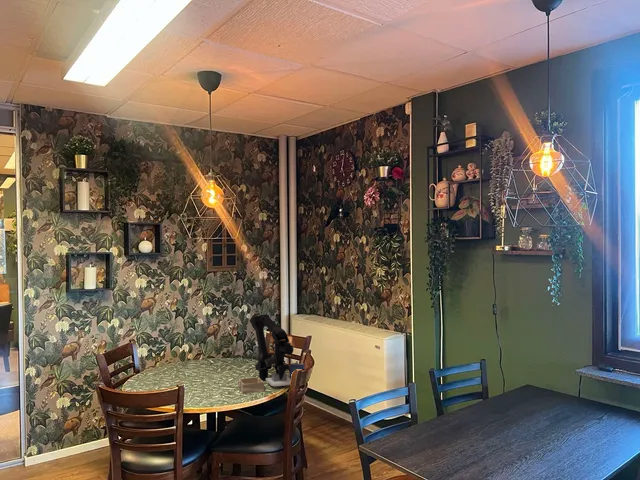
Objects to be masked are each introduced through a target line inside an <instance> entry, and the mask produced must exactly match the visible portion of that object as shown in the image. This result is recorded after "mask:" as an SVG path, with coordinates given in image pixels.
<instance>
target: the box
mask: <svg viewBox="0 0 640 480" xmlns="http://www.w3.org/2000/svg"><path fill="white" fill-rule="evenodd" d="M237 388H238V390H239V391H240V392H241V393H242V394H243V395H246V394H253V393H261V392H265V382H264V381H262V380H261V379H260V378H259V376H255V377H245V378H238V381H237Z"/></svg>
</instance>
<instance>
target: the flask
mask: <svg viewBox="0 0 640 480" xmlns="http://www.w3.org/2000/svg"><path fill="white" fill-rule="evenodd" d="M295 361H296V362H291V363H289V378H290V379H291V374H292V372H293V371H294V370H296V369H304V370H305V363H299V360H295Z"/></svg>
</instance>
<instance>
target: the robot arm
mask: <svg viewBox="0 0 640 480" xmlns="http://www.w3.org/2000/svg"><path fill="white" fill-rule="evenodd" d="M249 321H250V323H251V324H250V325H251V328H252V329H253V330H254V332H255V336H256V337H255V338H256V342H257V347H258V352H259V353H258V357H257V363H256V364H255V366H254V368H255V371H258V377H259V378H260V379H261V380H262V381H263V382H264V381H265V382H267V381H266V378H269V370H272V368H274V370H275V373H279V379H280V380H282V378H283V375H284V373H286V371H287V370H289V371H290V364H287V362H286V360H285V357H286V355H287V356H291V355H292V354H293V353H294V346H293V345H291V344H292V343H291V342H290V338H289V337H288V334H287V332H286V331H285V330H284V329H283V328H282V327H279V326H278V325H277V324H276V323H275V322H274V320H273V319H272V318H271V317H270V315H269V314H267V313H265V314H260V315H253V316H251V318H250V320H249ZM265 326H266V328H267V329H268V330H269V332H270V333H271V337H272V339H273V342H272V344H273V345H274V353H273V355H272V354H271V353H270V352H268V347H267V340H266V337H265V332H264V328H265Z"/></svg>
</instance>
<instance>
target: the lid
mask: <svg viewBox="0 0 640 480" xmlns="http://www.w3.org/2000/svg"><path fill="white" fill-rule="evenodd" d="M291 380H292V379H291V378H290V377H289V376H288V374H287V373H286V372H285V373H284V375H283V378H282V380H280V379H279V373H276V372H274V373H272V374H271V377H268V378H266V381H265V382H267V383H269V385H270V386H272V387H282V386H284V387H285V386H290V385H291V384H290V381H291Z"/></svg>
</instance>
